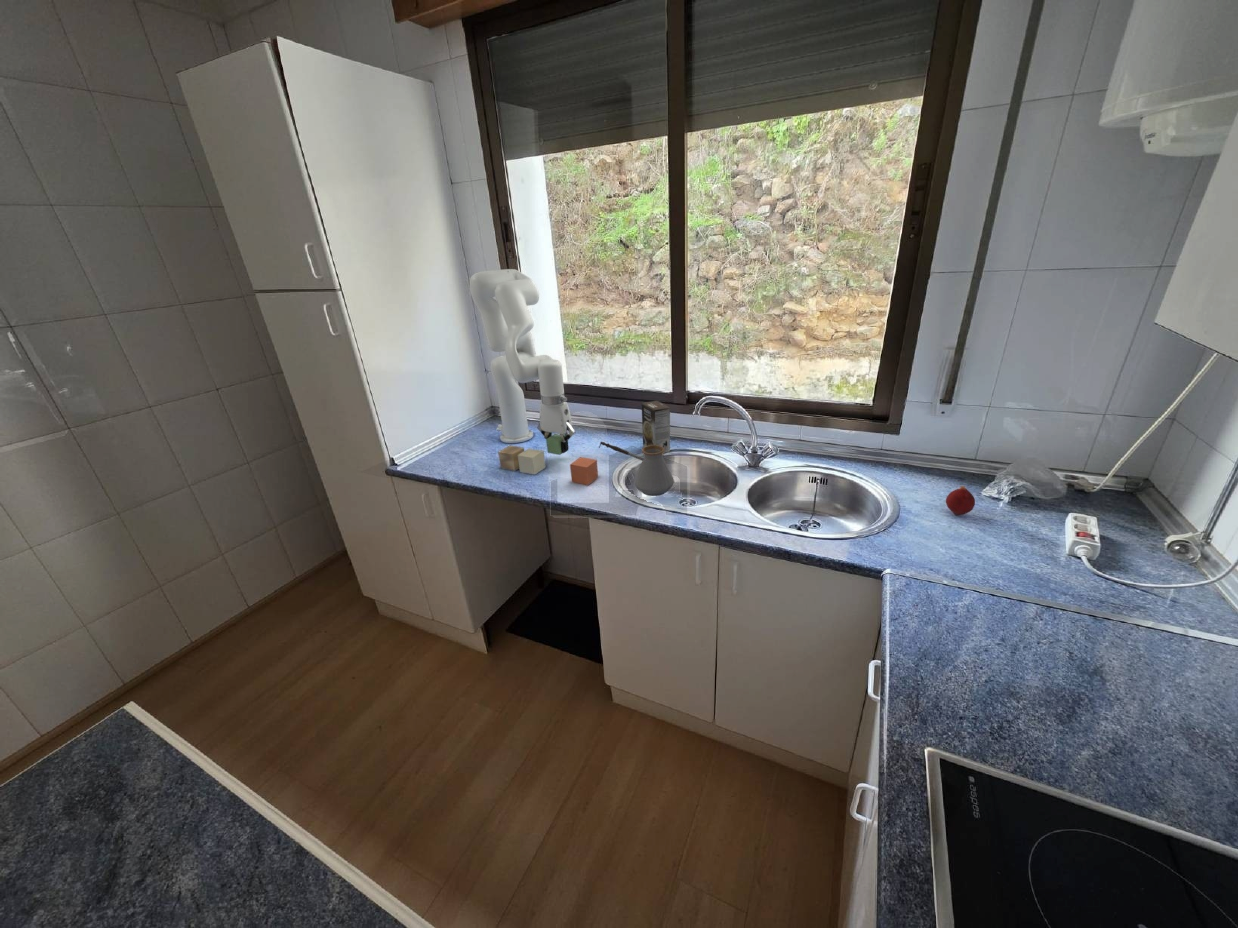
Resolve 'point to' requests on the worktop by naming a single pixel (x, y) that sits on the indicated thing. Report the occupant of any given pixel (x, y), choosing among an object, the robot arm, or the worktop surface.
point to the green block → (554, 444)
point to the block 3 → (584, 470)
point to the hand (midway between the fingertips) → (557, 449)
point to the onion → (960, 501)
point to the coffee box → (656, 424)
